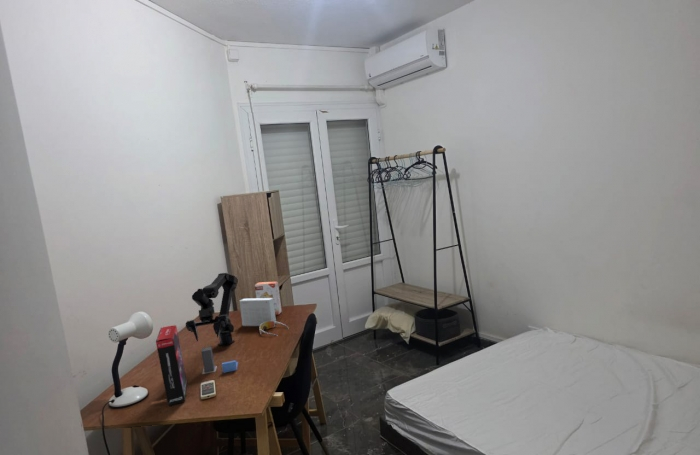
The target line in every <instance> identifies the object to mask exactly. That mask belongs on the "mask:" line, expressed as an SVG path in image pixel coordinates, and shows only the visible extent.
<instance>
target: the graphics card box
mask: <svg viewBox="0 0 700 455" xmlns="http://www.w3.org/2000/svg"><path fill="white" fill-rule="evenodd" d="M155 343H156V344H155V345H156V348H157V354H158V361H159V364H160V369H161V370H160V371H161V376H162V380H163V384H164V389H165V395H166V401H167V405H168V406H169V407H170V406H173V405H178V404H181V403H184V402H186V396H187V387H188V386H187V384H188V380H187V375H186V370H185V364H184V359H183V353H182V348H181V343H180V338H179V332H178V327H177V325H176V324H175V325H174V324H173V325H168V326H163V327H160V329H159V332H158V335H157V338H156V340H155Z"/></svg>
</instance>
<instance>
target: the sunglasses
mask: <svg viewBox="0 0 700 455" xmlns="http://www.w3.org/2000/svg"><path fill="white" fill-rule="evenodd" d="M275 323H276V324H278V325H283V326H284V327H286V328H287V329H288V330H290V329H289V328H290V327H288V325H287V324H285V323H282V322H279V321H277V320H276V321H270V320H269V321H265V322H263V323H261V324H260V326H258V327H259V328H258V329H259V334H260V335H262V333H264V334H267V335H272V336H275V337H278V336H279V335H277V334H275V333H271V332H267V331H265V329H266V330H268V329H271V328H275V327H276V324H275Z"/></svg>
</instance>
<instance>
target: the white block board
mask: <svg viewBox="0 0 700 455" xmlns="http://www.w3.org/2000/svg"><path fill="white" fill-rule="evenodd" d="M238 364H239V361H237V360H236V359H235V360H230V361H225V362H222V363H221V368H222V373H223V374H224V373H229V372H233V371H237V370H238ZM214 366H215V368H214V371H210V372H204V368H203V370H202V372H201V375H204V374H210V373H214V372H216V371H217V368H218V366H217V365H214Z"/></svg>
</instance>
